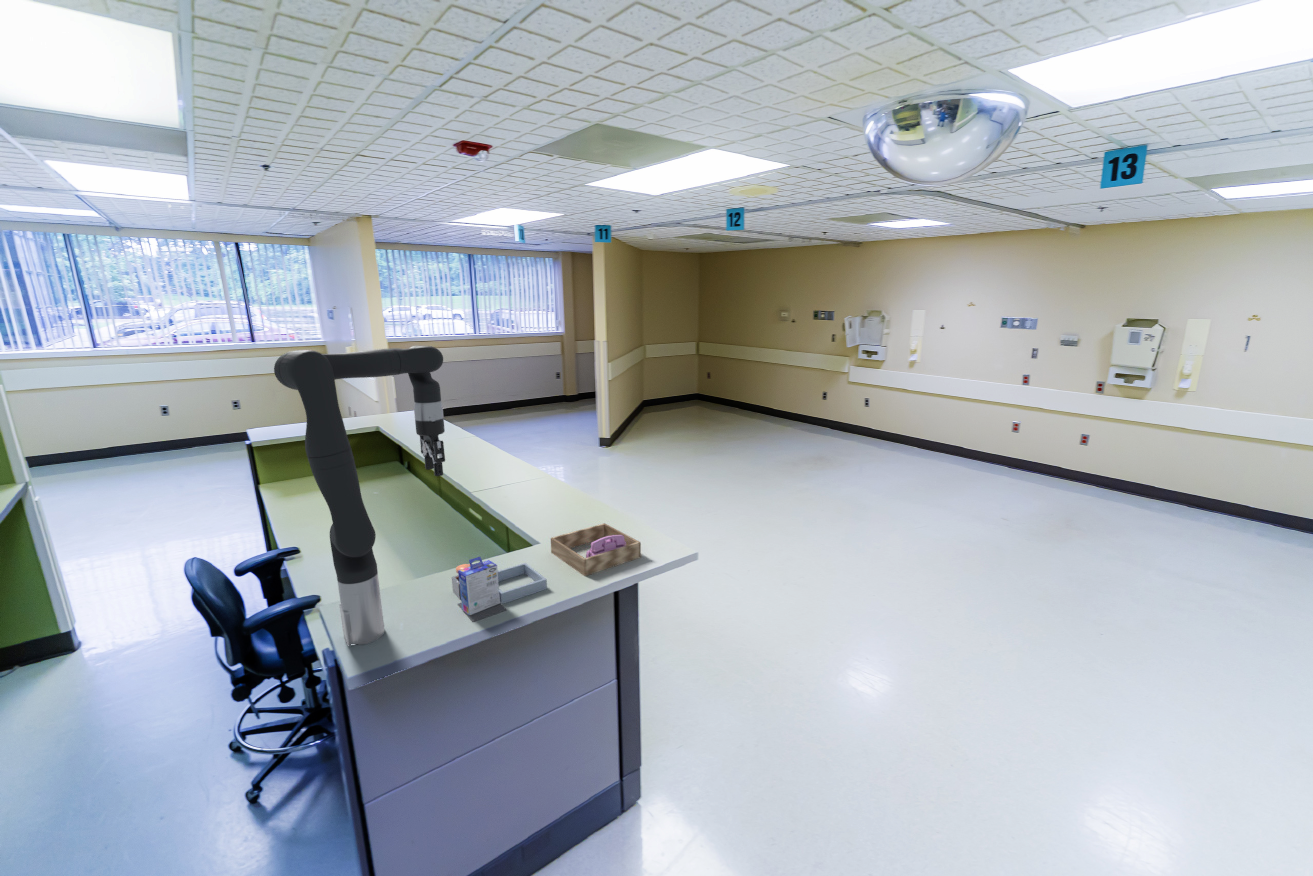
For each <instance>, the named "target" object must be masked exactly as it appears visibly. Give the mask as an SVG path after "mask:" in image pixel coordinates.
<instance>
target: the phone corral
mask: <svg viewBox="0 0 1313 876" xmlns="http://www.w3.org/2000/svg"><path fill="white" fill-rule="evenodd" d="M612 535H623V536H624V540H625V542H626V544H625V545H626V546H623V547H620V548H617V549H614V550H610V551H607V552H604V553H601V554H597V555H594V556H591V557H588V558H586V557H583V556H582V555H581V554H579V553H577V552H576V551H574V550H573V549H572V548H575V547H579V546H581V545H585V544H590V543H592V542H594V541H596V540H598V539H600V538H603V537H606V536H612ZM641 545H642V544H641V541H639V540H637V539H635V538H633V537H632V536H629V535H627V534H626V533H624V532H622V531H620V530H619V529H617V528H614V527H613V526H611V525H609V524H607V523H600V524H598V525H593V526H590V527H589V526H588V527H585V528H583V529H582V528H581V529H579V530H575V531H571V532H568V533H565V534H559V535H557V536H553V537H551V538H550V553H551V554H553V556H555V557H557V558H558V559H559V560H561V561H563V562H564V563H565V564H566V565H568V566H569V567H571V568H572V569H574V570H575V571H576V572H578V573H579V574H581V575H582V576H584V577H586V576H590V575H592V573H593V574H596V573H599V572H602V571H605V570H607V569H609V568H614V567H616V566H619V565H622V564H624V563H625V564H626V563H628V562H631V561H634V560H636V559H640V558H641V556H642V552H641V550H642V546H641ZM601 570H602V571H601ZM595 572H596V573H595Z"/></svg>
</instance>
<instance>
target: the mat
mask: <svg viewBox="0 0 1313 876" xmlns="http://www.w3.org/2000/svg"><path fill="white" fill-rule="evenodd" d="M457 606H458V607H459V608H460V609H461V610H462V602H458V603H457ZM506 611H508V609H507V608H506V606H504V604H501V603H500V604H497V605H495V606H492V607H490V608H487V609H485V610H482V611H480V612H477V613H475V614H472V615H468V614H467V613H466V612H464V611H463V613H464V614H465V615H466V616H467V617H468V618H469V620H470V621H471V623H473V622H475V623H476V622H478V621H480V620H483V619H487V618H488V617H492V616H494V615H497V614H501V613H504V612H506Z"/></svg>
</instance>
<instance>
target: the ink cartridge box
mask: <svg viewBox="0 0 1313 876" xmlns="http://www.w3.org/2000/svg"><path fill="white" fill-rule="evenodd" d="M475 561H479V562H476V563H473V562H475ZM468 564H470V567H467V568H465V569H462V570H459V571H458V573H457V574H458V575H459V584H460V593H461V599H460V600H461V601H460V603H462V609H461V610H462V612H463V613H464V612H466V613H467V614H468V615H472V614H475V613H477V612H480V611H482V610H485V609H487V608H490V607H492V606H495V605H497V604H500V596H499V589H500V585H499V581H498V571H499V570H498V564H497V563H494V562H493V561H491V560H490V559H487V560H484V561H483V559H482V558H481V556H478V557H475V558H474V557H473V558H471V559H469V560H468Z"/></svg>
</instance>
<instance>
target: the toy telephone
mask: <svg viewBox="0 0 1313 876" xmlns="http://www.w3.org/2000/svg"><path fill="white" fill-rule="evenodd" d="M625 544H626V542H625V540H624V536H623V535H612V536H606V537H603V538H600V539H598V540H596V541H593V542H590V548H589V549H588V550H587V551H586V553H585V558H588V557H591V556H594V555H597V554H601V553H604V552H607V551H610V550H614V549H617V548H620V547H623V546H626V545H625Z"/></svg>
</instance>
